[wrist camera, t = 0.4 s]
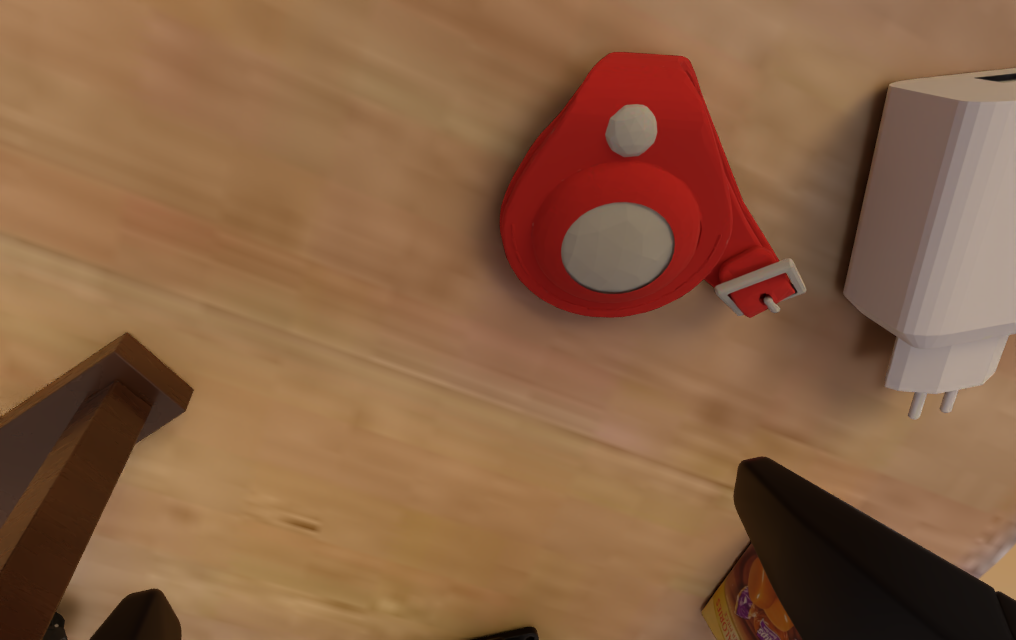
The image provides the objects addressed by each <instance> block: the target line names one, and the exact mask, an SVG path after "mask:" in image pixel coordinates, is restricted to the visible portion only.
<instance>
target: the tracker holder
mask: <svg viewBox="0 0 1016 640" xmlns="http://www.w3.org/2000/svg"><path fill="white" fill-rule="evenodd" d="M500 233H501V237H502V242H503V246H504V250H505V254H506V257H507V259H508V262H509V264H510V266H511V268H512V269H513V271H514V272H515V274H516V276H517V277H518V278H519V280H520V281H521V282H522V283H523V284H524V285H525V286H526V287H527V288H528V289H529V290H530V291H532V292H533V293H534V294H535V295H537V296H538V297H539V298H541V299H542V300H544V301H546V302H547V303H549V304H551V305H553V306H555V307H557V308H560V309H562V310H565V311H568V312H571V313H575V314H579V315H584V316H591V317H624V316H631V315H635V314H640V313H645V312H648V311H651V310H654V309H657V308H660V307H662V306H664V305H666V304H668V303H671V302H672V301H674V300H676V299H678V298H680V297H682V296H683V295H685V294H686V293H688V292H689V291H691V290H692V289H693V288H694V287H695V286H697V285H698V284H699V283H700V282H701V281H702V280H703V279H704V280H705V281H707V282H708V283H709V284H710V285H712V286H713V287H714V291H715V293H716V294H717V296H718V297H719V298H720V299H721V300H722V301H723V302H724V303H726V304H727V305H728V306H729V307H730V308H731V309H732V310H733V311H734V312H735V313H736V314H737V315H738V316H742V315H745V316H747V317H749V318H751V317H753V316H755V315H757V314H759V313H761V312H763V311H765V310H767V309H768V308H769V310H770V311H771V312H773V313H778V312H779V311H780V307H779V306H778V305H777V303H779V302H781V301H783V300H786V299H789V298H792V297H795V296H797V295H800V294H803V293H805V292H806V287H805V285H804V282H803V280H802V278H801V276H800V274H799V272H798V270H797V268H796V266H795V264H794V262H793V260H792V259H791V258H787V259H784V260H782V261H779V260H778V258H777V256H776V255H775V253H774V251H773V249H772V248H771V246H770V244H769V243H768V241H767V240H766V238H765V236H764V235H763V233H762V231H761V230H760V228H759V227H758V225H757V223H756V222H755V220H754V219H753V217H752V215H751V214H750V212H749V210H748V209H747V207H746V206H745V204H744V202H743V200H742V197H741V194H740V192H739V189H738V187H737V184H736V181H735V179H734V176H733V174H732V171H731V169H730V166H729V163H728V161H727V158H726V156H725V153H724V150H723V148H722V145H721V143H720V140H719V137H718V135H717V132H716V130H715V127H714V125H713V122H712V119H711V117H710V114H709V112H708V109H707V106H706V104H705V101H704V99H703V96H702V93H701V90H700V87H699V83H698V80H697V77H696V74H695V71H694V69H693V67H692V64H691V62H690V61H689V60H688V59H687V58H685V57H683V56H673V55H658V54H643V53H629V52H613V53H609V54H608V55H606V56H605V57H604V58H603V59H601V60H600V61H599V62H598V63H597V64H596V65H595V66H594V67H593V68H592V70H591V71H590V72H589V73H588V75H587V77H586V78H585V80H584V82H583V83H582V85H581V86H580V87H579V88H578V90H577V91H576V92H575V94H574V95H573V96H572V98H571V99H570V101H569V102H568V103H567V105H566V106H565V107H564V109H563V110H562V111H561V112H560V113H559V115H558V116H557V117H556V118H555V119H554V120H553V121H552V122H551V123H550V125H549V126H548V127H547V128H546V129H545V130H544V131H543V132H542V133H541V134H540V135H539V136H538V138H537V139H536V141H535V142H534V143H533V145H532V146H531V147H530V149H529V150H528V152H527V154H526V156H525V157H524V159H523V161H522V162H521V164H520V166H519V167H518V169H517V171H516V172H515V174H514V176H513V178H512V180H511V182H510V184H509V186H508V188H507V191H506V193H505V196H504V199H503V202H502V205H501V211H500ZM786 273H787V274H788V276H789V278H790V279H789V278H788V276H787V274H786ZM790 280H791V281H792V283H793V284H791V282H790Z"/></svg>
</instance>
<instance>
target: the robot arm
mask: <svg viewBox="0 0 1016 640" xmlns="http://www.w3.org/2000/svg"><path fill="white" fill-rule="evenodd" d="M734 504H735V507H736V510H737V512H738V515H739V517H740V519H741V521H742V523H743V525H744V528H745V530H746V532H747V534H748V536H749V538H750V540H751V543H752V545H753V547H754V549H755V551H756V553H757V555H758V558H759V560H760V562H761V564H762V566H763V568H764V571H765V573H766V575H767V577H768V579H769V581H770V583H771V585H772V587H773V589H774V591H775V593H776V595H777V597H778V599H779V601H780V602H781V604H782V606H783V608H784V610H785V611H786V613H787V615H788V616H789V618H790V620H791V621H792V623H793V625H794V626H795V628H796V630H797V631H798V633H799V635H800V636H801V638H802V640H1016V600H1014V599H1012V598H1010V597H1008V596H1007V595H1005V594H1003V593H1002V592H999V591H998V592H995V591H994V589H993V588H992V587H991V586H989V585H988V584H986V583H984V582H982V581H980V580H979V579H977V578H975V577H974V576H972V575H970V574H968V573H967V572H965V571H963V570H962V569H960V568H958V567H956V566H955V565H953V564H951V563H949V562H948V561H946V560H944V559H943V558H941V557H939V556H937V555H936V554H934V553H932V552H930V551H929V550H927V549H925V548H923V547H922V546H920V545H918V544H917V543H915V542H913V541H911V540H910V539H908V538H906V537H904V536H903V535H901V534H899V533H898V532H896V531H894V530H892V529H891V528H889V527H887V526H885V525H884V524H882V523H880V522H878V521H877V520H875V519H873V518H872V517H870V516H868V515H866V514H865V513H863V512H861V511H859V510H858V509H856V508H854V507H853V506H851V505H849V504H847V503H846V502H844V501H842V500H840V499H839V498H837V497H835V496H833V495H832V494H830V493H828V492H827V491H825V490H823V489H821V488H820V487H818V486H816V485H814V484H813V483H811V482H809V481H808V480H806V479H804V478H802V477H801V476H799V475H797V474H795V473H794V472H792V471H790V470H789V469H787V468H785V467H783V466H782V465H780V464H778V463H776V462H775V461H773V460H771V459H769V458H767V457H756V458H752V459H747V460H743V461H741V463H740V464H739V466H738V471H737V477H736V483H735V489H734ZM181 636H182V635H181V626H180V622H179V620H178V618H177V616H176V614H175V613H174V611H173V609H172V607H171V606H170V604H169V602H168V601H167V599H166V597H165V595H164V594H163V592H162V591H161V590H159V589H150V590H145V591H140V592H136V593H132V594H129V595H128V596H126V597H125V598H124V599H123V600H122V601H121V602H120V603H119V605H118V606H117V607H116V608H115V609H114V611H113V612H112V613H111V614H110V615H109V617H108V618H107V619H106V620H105V621H104V623H103V624H102V625H101V626H100V627H99V629H98V630H97V631H96V632H95V634H94V635H93V636H92V637H91V638H90V640H181ZM472 640H539V637H538V634H537V630H536V629H535V628H534V627H526V628H522V629H517V630H513V631H508V632H504V633H499V634H495V635H490V636H486V637H481V638H477V639H472Z"/></svg>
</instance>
